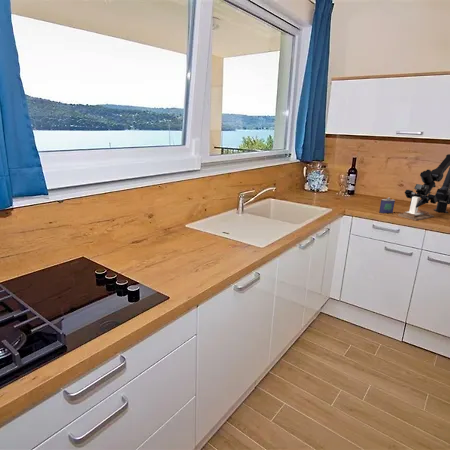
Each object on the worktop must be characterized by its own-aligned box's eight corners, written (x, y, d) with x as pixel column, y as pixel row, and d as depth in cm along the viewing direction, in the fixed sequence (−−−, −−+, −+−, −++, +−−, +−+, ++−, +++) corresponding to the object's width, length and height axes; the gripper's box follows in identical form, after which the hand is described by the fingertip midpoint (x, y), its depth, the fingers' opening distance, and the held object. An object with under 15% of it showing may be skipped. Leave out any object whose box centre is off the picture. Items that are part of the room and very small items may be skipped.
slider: (410, 212, 216) (414, 195, 213) (420, 214, 211) (424, 197, 208) (405, 213, 213) (408, 196, 210) (414, 215, 208) (418, 198, 205)
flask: (391, 212, 222) (394, 196, 219) (393, 213, 219) (396, 197, 216) (378, 212, 221) (380, 196, 218) (380, 213, 218) (383, 197, 215)
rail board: (415, 212, 224) (416, 208, 223) (433, 216, 215) (434, 212, 214) (397, 215, 214) (398, 211, 214) (415, 220, 205) (416, 216, 204)
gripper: (409, 177, 215) (395, 195, 213) (439, 182, 200) (424, 201, 198) (413, 188, 221) (400, 206, 219) (443, 193, 206) (429, 213, 204)
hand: (413, 206), depth 210 cm, fingers closed on slider, 3 cm apart
